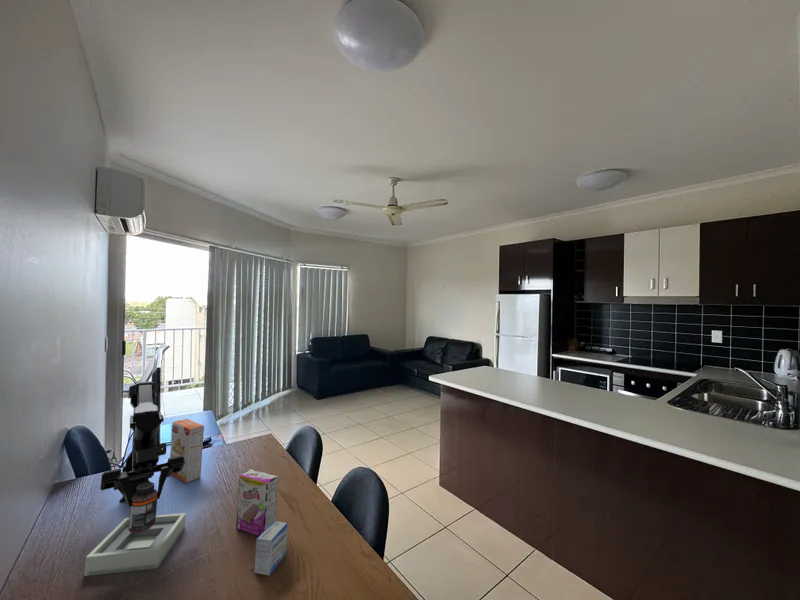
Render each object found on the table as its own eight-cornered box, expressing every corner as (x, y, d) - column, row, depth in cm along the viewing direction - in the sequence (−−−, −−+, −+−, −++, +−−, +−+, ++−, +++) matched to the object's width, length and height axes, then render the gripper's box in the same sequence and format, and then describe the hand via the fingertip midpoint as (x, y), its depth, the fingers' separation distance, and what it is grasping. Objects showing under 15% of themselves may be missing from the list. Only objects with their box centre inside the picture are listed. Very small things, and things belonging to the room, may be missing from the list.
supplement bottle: (139, 520, 92) (142, 479, 93) (160, 520, 92) (164, 480, 93) (121, 533, 86) (126, 490, 87) (144, 534, 86) (148, 491, 87)
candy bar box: (234, 530, 98) (238, 475, 99) (247, 520, 103) (250, 468, 104) (263, 539, 95) (267, 482, 96) (275, 529, 99) (279, 475, 100)
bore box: (83, 576, 79) (85, 557, 79) (124, 533, 95) (125, 517, 95) (157, 568, 83) (159, 549, 83) (184, 528, 98) (185, 513, 98)
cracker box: (167, 473, 130) (171, 421, 132) (183, 468, 136) (187, 418, 137) (184, 484, 123) (188, 428, 124) (200, 478, 128) (205, 424, 129)
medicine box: (269, 576, 81) (271, 541, 82) (253, 573, 82) (256, 538, 83) (286, 554, 89) (288, 522, 90) (271, 551, 90) (273, 519, 90)
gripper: (104, 442, 87) (100, 502, 78) (186, 428, 100) (190, 479, 91) (102, 461, 93) (97, 519, 84) (179, 446, 105) (182, 495, 96)
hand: (144, 502), depth 89 cm, fingers closed on supplement bottle, 6 cm apart
